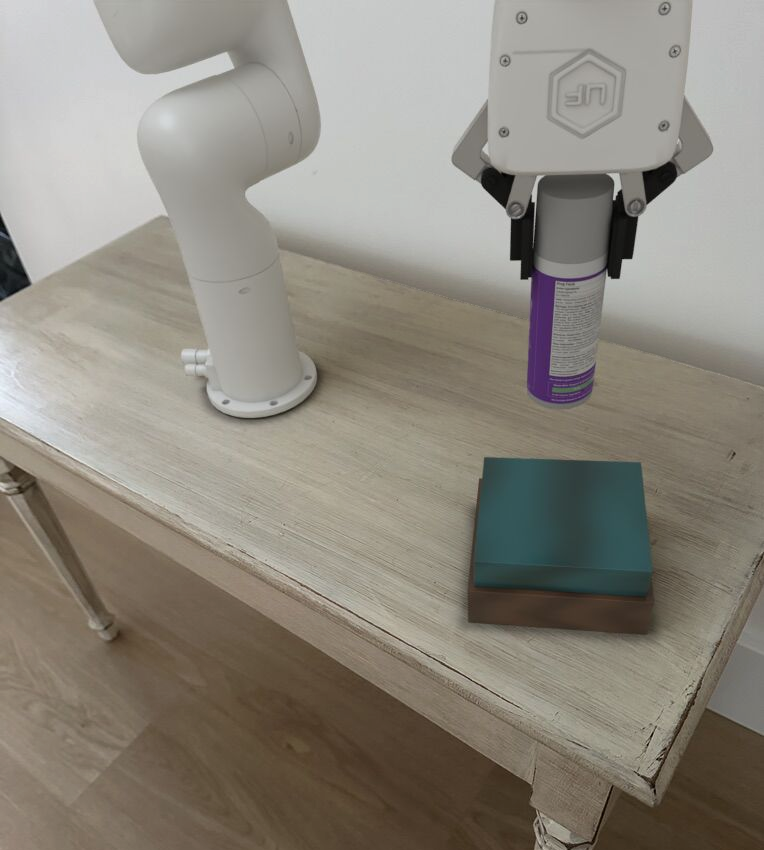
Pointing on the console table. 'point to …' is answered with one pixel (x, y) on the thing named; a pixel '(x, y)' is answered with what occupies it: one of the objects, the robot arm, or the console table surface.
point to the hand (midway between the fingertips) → (569, 266)
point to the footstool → (561, 546)
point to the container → (567, 286)
